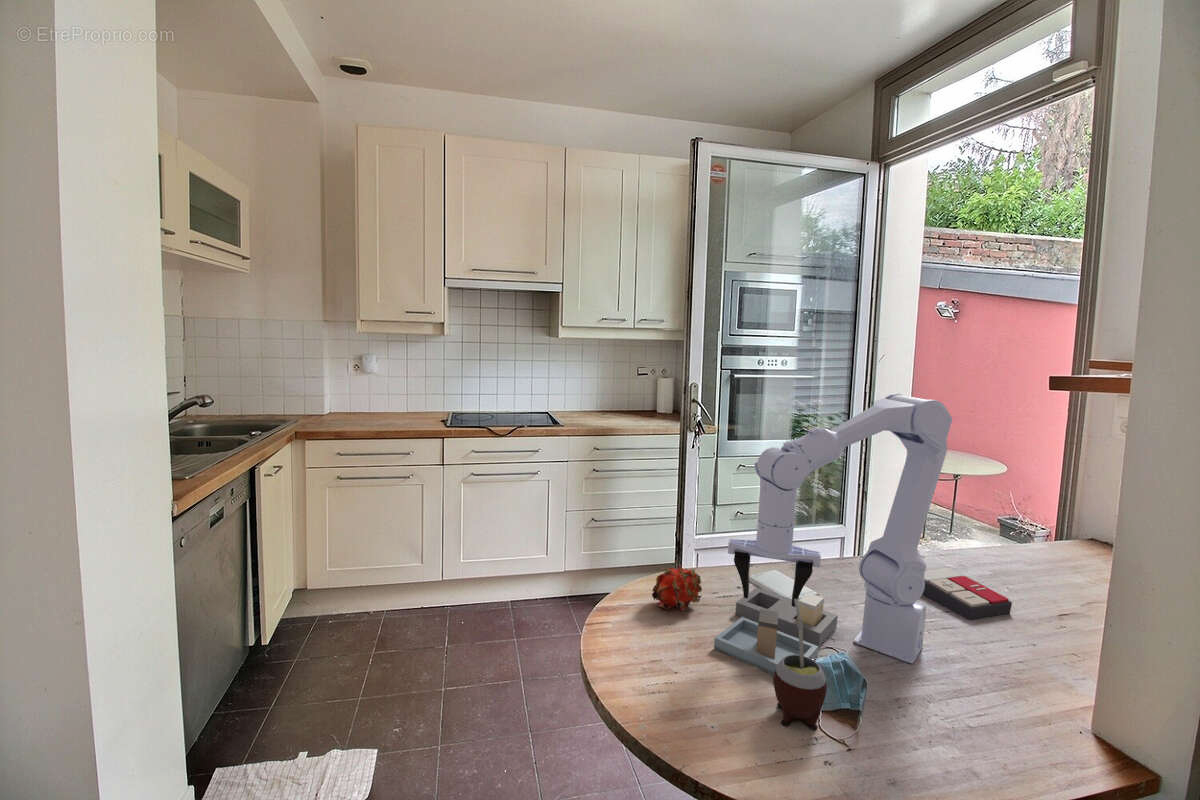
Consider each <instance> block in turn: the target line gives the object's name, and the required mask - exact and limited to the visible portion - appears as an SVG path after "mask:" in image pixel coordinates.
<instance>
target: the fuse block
mask: <svg viewBox="0 0 1200 800" xmlns="http://www.w3.org/2000/svg"><path fill="white" fill-rule="evenodd" d="M759 605H760V606H759ZM762 606H764V607H762ZM765 607H766V608H765ZM760 609H764V610H769V611H774V612H778V625H777V631H780V632H782V633H785V634H788V635H790V636H793V637H795V638H798V639H799V628H798V624H797V621H798V620H797V611H796V607H793V606H792V599H790V598H787V597H784V596H781V595H778V594H775V593H772V592H769V591H766V590H764V589H762V588H760V587H759V586H757V587H755V588H754V589H753V590H751V591H749V594H748V599H747V598H744V596H743V597H741V598H740V599H739V600H738V601H736V602H735V615H736V616H738V617H740V618H741V617H744V618H746V619H749V620H751V621H754V622H757V623H759V614H760ZM837 625H838V614H836V613H833V612H830V611H827V610H824V609H823V615H822V621H821V622H820V623H819V624H818V625H817V626H816V627H814V626H812V625H809V624H806V623H803V628H802V631H803V641H806V642H808V643H811V644H814V645H816V646H818V648H820V647H821V645H822V644H823V643H824V642H825V641H826V640H827V639H828V638H829V636H830V635H831V634H833V632H834V631H835V630H836V629H837V628H838V627H837Z"/></svg>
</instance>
